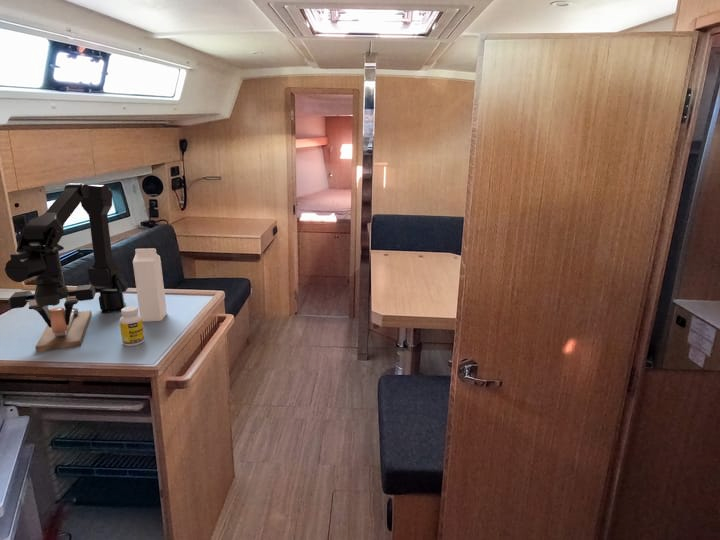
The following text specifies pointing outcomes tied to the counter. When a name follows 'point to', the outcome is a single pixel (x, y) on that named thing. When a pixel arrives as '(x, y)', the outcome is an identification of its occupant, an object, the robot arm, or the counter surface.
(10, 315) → the counter surface
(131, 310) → the supplement bottle
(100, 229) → the robot arm
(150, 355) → the counter surface
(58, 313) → the lever
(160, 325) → the counter surface
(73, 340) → the light wooden base
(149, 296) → the milk
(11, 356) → the counter surface
